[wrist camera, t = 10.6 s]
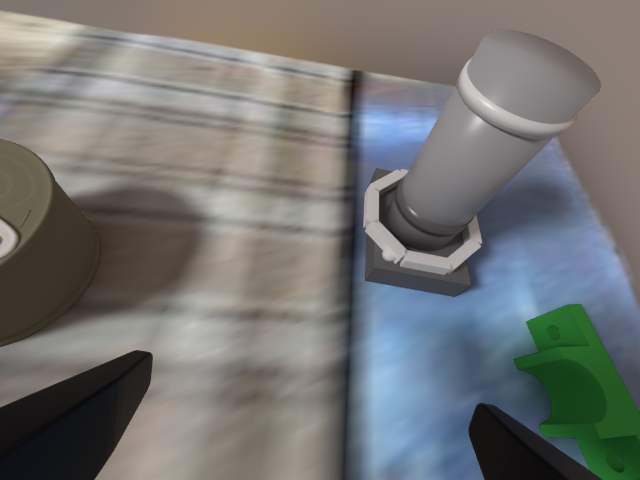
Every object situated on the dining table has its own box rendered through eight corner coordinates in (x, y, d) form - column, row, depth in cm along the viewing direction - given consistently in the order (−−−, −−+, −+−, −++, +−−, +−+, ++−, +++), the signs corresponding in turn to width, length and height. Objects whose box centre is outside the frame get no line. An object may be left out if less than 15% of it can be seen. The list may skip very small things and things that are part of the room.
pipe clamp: (497, 323, 26) (538, 304, 22) (534, 322, 26) (581, 303, 23) (562, 491, 20) (633, 505, 16) (608, 484, 21) (688, 496, 17)
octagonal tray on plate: (465, 298, 26) (490, 282, 23) (353, 278, 25) (365, 259, 23) (450, 202, 32) (468, 179, 29) (359, 183, 31) (369, 158, 29)
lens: (466, 233, 27) (623, 82, 15) (419, 265, 24) (566, 113, 13) (417, 185, 29) (522, 22, 17) (370, 210, 26) (455, 37, 15)
